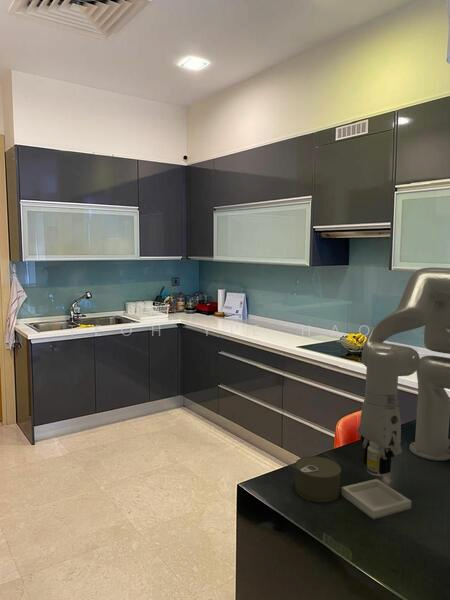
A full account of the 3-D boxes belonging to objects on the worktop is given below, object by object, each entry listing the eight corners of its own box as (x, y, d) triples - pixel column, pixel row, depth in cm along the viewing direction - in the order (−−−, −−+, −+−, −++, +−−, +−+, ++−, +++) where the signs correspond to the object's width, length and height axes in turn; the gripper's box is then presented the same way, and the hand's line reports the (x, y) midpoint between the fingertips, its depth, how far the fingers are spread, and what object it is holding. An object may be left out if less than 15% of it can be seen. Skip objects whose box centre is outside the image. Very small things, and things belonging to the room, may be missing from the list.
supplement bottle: (383, 468, 115) (385, 436, 115) (388, 477, 111) (390, 444, 110) (364, 467, 116) (366, 435, 115) (368, 475, 111) (370, 443, 110)
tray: (376, 486, 122) (376, 478, 122) (410, 508, 111) (411, 500, 111) (341, 494, 117) (341, 487, 117) (373, 519, 106) (374, 511, 106)
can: (349, 495, 117) (351, 470, 116) (314, 507, 111) (315, 481, 110) (319, 475, 127) (320, 452, 127) (285, 485, 121) (286, 461, 121)
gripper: (418, 407, 105) (414, 481, 107) (368, 387, 121) (365, 452, 122) (395, 410, 102) (390, 486, 104) (346, 390, 118) (343, 456, 119)
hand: (376, 467), depth 113 cm, fingers closed on supplement bottle, 4 cm apart
